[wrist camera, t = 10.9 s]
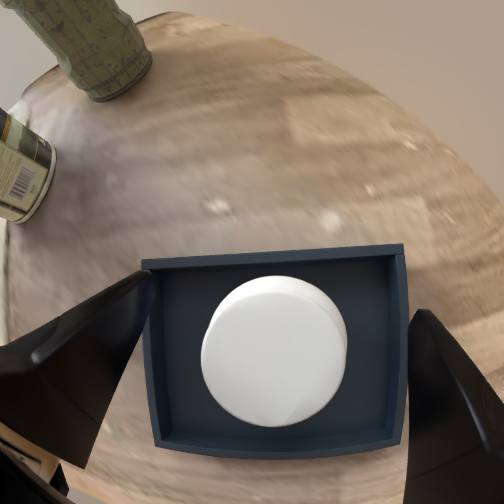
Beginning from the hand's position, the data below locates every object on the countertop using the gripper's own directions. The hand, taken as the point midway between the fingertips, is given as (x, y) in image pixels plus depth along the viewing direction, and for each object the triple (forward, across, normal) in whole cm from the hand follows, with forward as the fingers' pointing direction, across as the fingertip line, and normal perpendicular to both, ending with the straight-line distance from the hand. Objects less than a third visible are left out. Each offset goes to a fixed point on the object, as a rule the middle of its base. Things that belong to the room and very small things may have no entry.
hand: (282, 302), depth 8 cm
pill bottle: (+4, 0, +7) cm, 8 cm away
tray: (+4, 0, +8) cm, 9 cm away
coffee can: (+12, +30, +1) cm, 32 cm away
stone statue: (+21, +21, -9) cm, 31 cm away
